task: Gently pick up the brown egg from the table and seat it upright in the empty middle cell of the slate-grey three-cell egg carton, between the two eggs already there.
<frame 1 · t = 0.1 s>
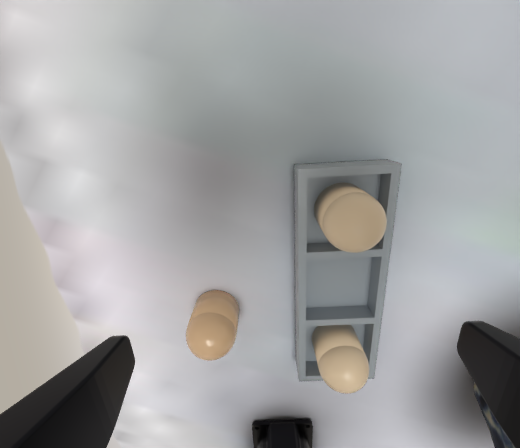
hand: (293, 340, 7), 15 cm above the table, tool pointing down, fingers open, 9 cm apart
carton: (334, 275, 23), on the table
jug: (518, 368, 27), on the table
egg: (217, 308, 25), on the table
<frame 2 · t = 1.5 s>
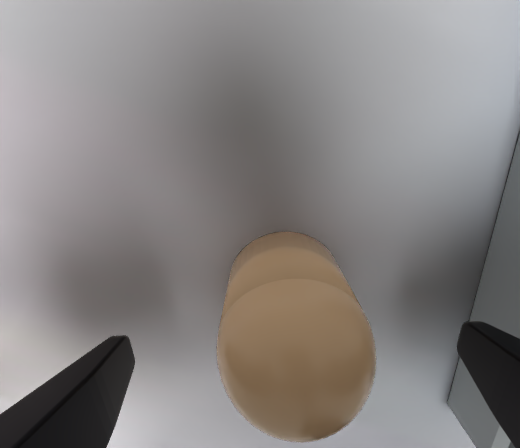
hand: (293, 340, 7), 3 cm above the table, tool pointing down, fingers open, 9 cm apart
egg: (284, 282, 10), on the table
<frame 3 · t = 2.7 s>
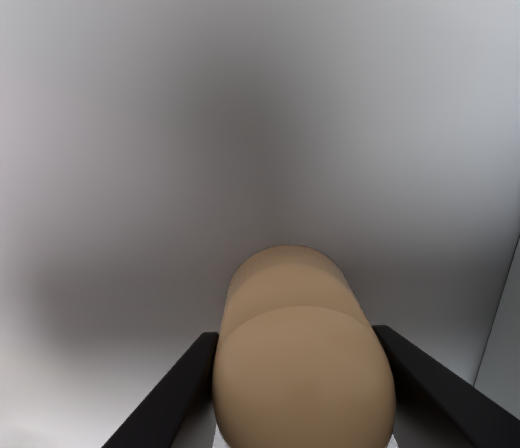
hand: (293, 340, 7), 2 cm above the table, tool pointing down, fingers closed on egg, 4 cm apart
egg: (287, 299, 9), on the table, touching gripper
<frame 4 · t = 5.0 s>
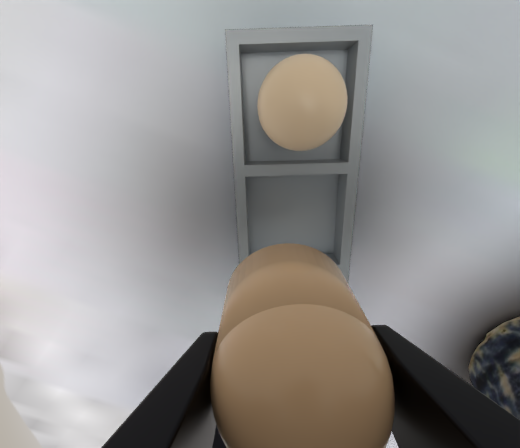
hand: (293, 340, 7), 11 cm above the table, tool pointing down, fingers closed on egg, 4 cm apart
carton: (291, 211, 18), on the table
egg: (286, 297, 9), point 9 cm above the table, touching gripper
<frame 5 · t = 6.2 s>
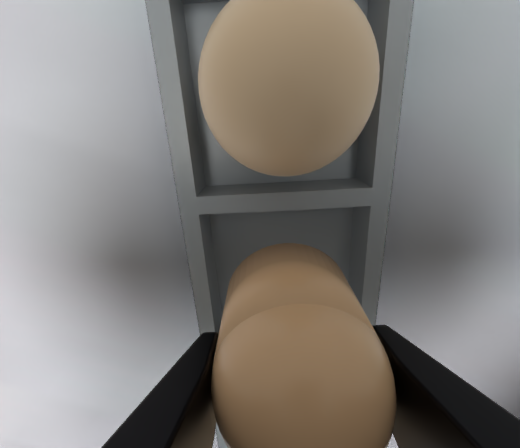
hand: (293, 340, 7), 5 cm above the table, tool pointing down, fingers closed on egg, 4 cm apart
carton: (281, 256, 12), on the table
egg: (287, 297, 9), point 3 cm above the table, touching gripper
when the fingers open (4 cm above the table, at t = 7.1 s): egg drops 1 cm, resting on carton.
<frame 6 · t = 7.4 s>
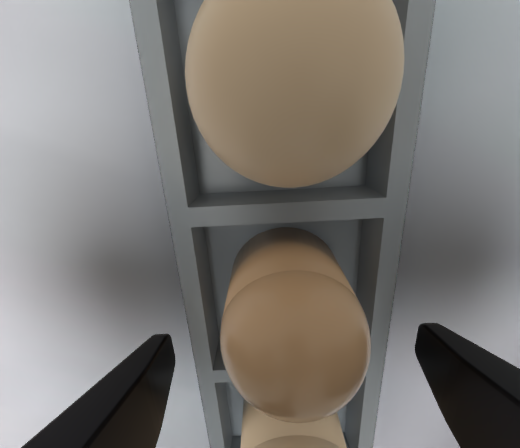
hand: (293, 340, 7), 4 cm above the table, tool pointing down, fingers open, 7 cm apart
carton: (283, 269, 11), on the table
egg: (284, 276, 10), point 1 cm above the table, touching carton
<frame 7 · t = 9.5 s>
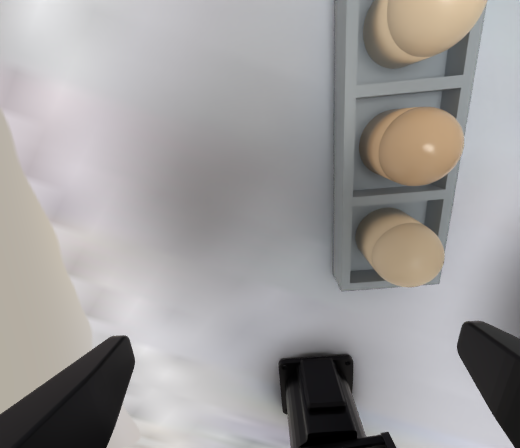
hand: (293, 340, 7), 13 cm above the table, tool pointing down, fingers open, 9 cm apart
carton: (386, 143, 18), on the table
egg: (390, 143, 17), point 1 cm above the table, touching carton
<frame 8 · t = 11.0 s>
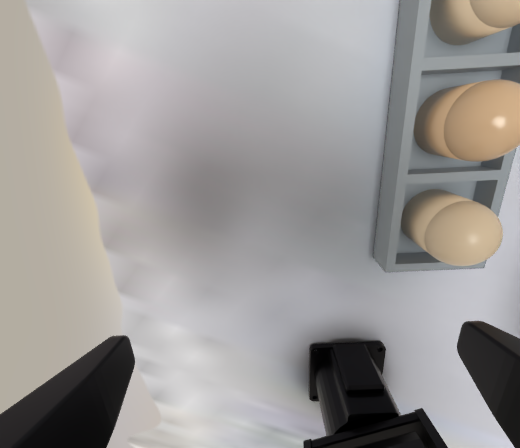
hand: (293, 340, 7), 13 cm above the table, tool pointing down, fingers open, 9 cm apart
carton: (439, 123, 18), on the table
egg: (445, 122, 17), point 1 cm above the table, touching carton
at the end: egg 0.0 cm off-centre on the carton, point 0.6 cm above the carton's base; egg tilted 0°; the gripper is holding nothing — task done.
